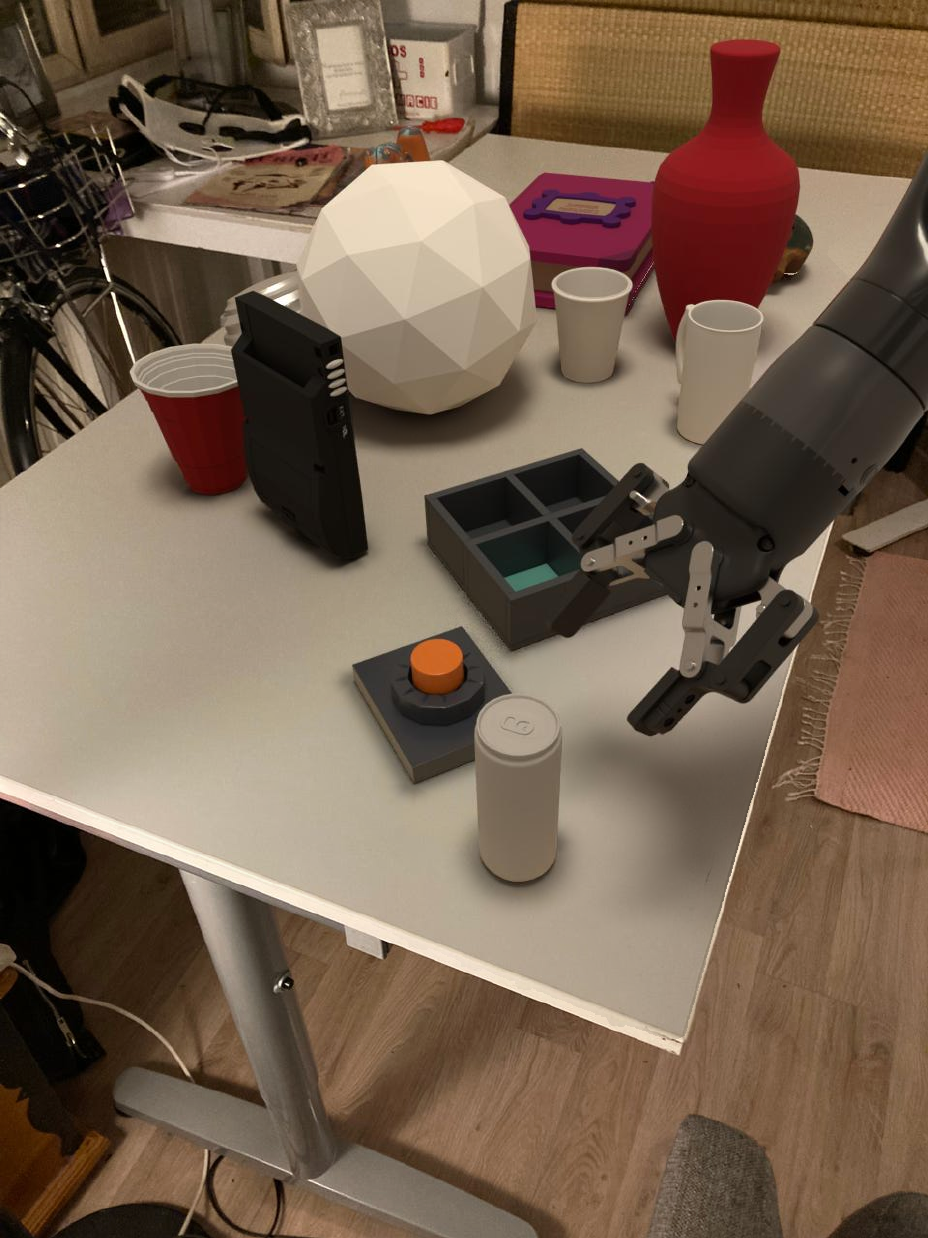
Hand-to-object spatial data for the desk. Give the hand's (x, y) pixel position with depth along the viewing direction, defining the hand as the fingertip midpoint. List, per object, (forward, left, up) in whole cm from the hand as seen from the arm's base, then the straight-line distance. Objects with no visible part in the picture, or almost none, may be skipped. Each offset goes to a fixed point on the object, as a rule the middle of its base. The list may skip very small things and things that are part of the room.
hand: (595, 677), depth 53 cm
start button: (+13, +4, -10) cm, 17 cm away
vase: (+51, -47, -13) cm, 71 cm away
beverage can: (0, +5, -13) cm, 14 cm away
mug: (+37, -36, -13) cm, 54 cm away
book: (+78, -46, -13) cm, 92 cm away
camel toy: (+91, -28, -13) cm, 96 cm away
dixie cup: (+52, -32, -13) cm, 63 cm away
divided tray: (+24, -11, -13) cm, 30 cm away
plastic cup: (+51, +10, -13) cm, 54 cm away
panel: (+13, +4, -13) cm, 19 cm away
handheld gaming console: (+38, +5, -13) cm, 41 cm away
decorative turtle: (+63, -66, -13) cm, 92 cm away
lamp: (+59, -10, -13) cm, 61 cm away
